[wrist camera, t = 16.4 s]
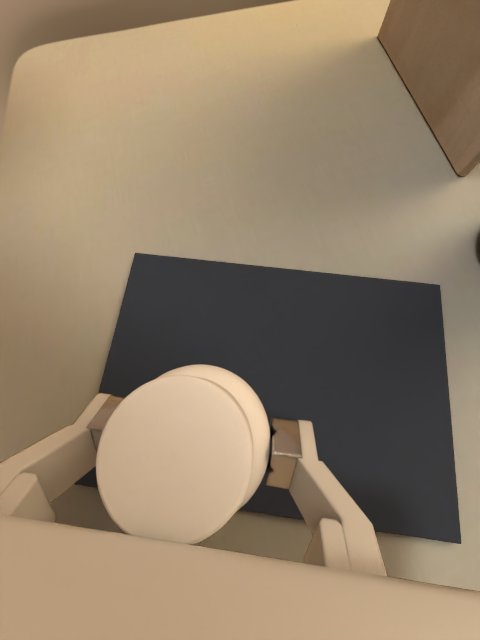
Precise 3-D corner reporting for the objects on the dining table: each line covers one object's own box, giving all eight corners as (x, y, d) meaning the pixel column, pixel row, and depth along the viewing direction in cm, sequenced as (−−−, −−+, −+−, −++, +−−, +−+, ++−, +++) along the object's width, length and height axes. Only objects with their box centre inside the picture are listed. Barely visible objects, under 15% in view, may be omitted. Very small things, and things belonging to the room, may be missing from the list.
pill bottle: (257, 372, 16) (269, 341, 8) (267, 471, 15) (298, 572, 6) (167, 380, 16) (77, 360, 7) (168, 480, 15) (59, 596, 6)
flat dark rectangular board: (78, 482, 15) (74, 484, 15) (137, 255, 19) (134, 252, 18) (455, 540, 14) (461, 544, 13) (436, 287, 18) (440, 284, 17)
